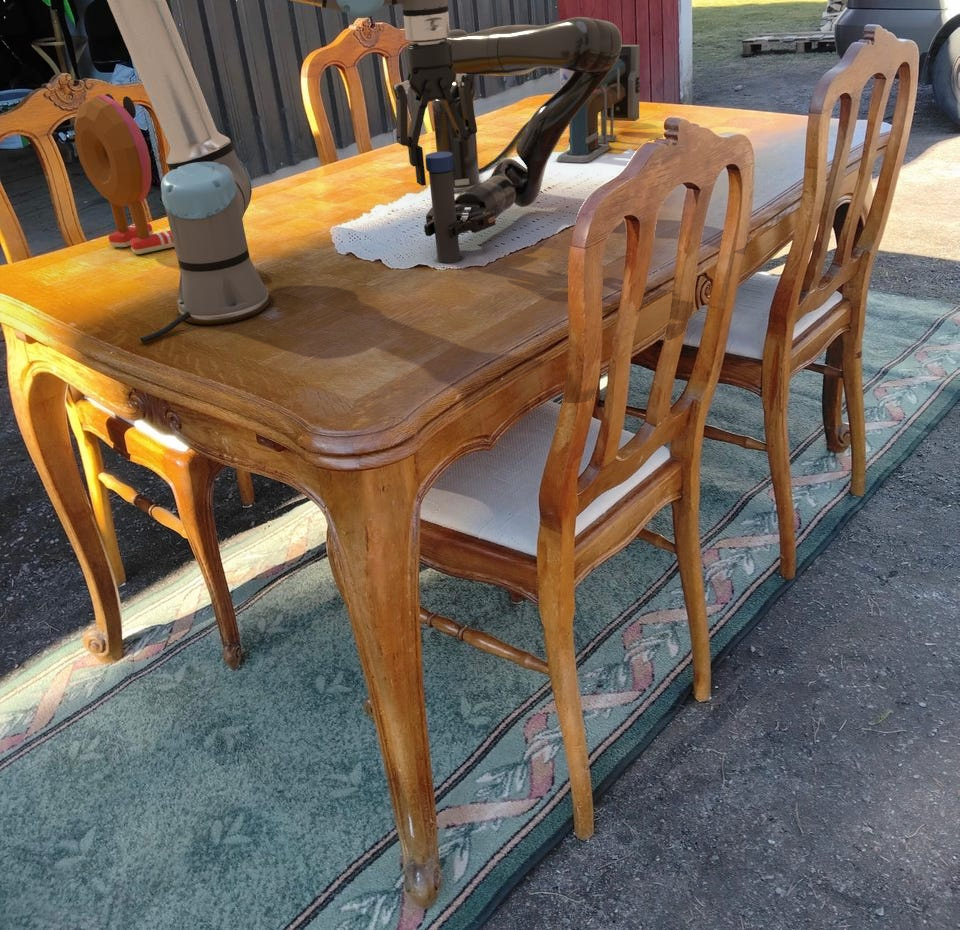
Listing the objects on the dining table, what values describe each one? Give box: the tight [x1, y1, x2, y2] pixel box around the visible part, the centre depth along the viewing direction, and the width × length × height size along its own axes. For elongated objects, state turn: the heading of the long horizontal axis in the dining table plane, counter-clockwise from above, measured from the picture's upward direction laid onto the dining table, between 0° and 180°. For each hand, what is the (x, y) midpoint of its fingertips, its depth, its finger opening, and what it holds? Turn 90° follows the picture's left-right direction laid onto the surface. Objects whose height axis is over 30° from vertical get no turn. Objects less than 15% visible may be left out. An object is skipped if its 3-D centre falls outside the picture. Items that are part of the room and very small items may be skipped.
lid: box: [424, 151, 454, 173], centre depth 171 cm, size 5×5×2 cm
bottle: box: [428, 170, 461, 264], centre depth 175 cm, size 4×4×18 cm
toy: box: [73, 93, 175, 255], centre depth 194 cm, size 21×10×30 cm, turn 47°
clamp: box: [556, 44, 641, 164], centre depth 243 cm, size 35×9×21 cm, turn 151°
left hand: (441, 180), depth 173 cm, fingers open, 7 cm apart
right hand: (438, 231), depth 175 cm, fingers closed on bottle, 4 cm apart
